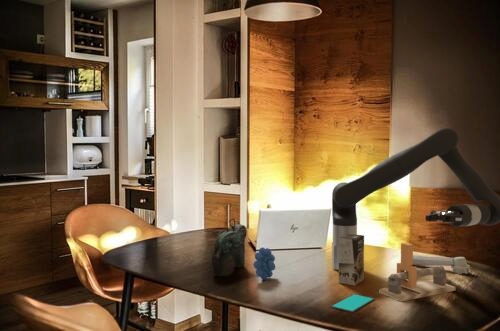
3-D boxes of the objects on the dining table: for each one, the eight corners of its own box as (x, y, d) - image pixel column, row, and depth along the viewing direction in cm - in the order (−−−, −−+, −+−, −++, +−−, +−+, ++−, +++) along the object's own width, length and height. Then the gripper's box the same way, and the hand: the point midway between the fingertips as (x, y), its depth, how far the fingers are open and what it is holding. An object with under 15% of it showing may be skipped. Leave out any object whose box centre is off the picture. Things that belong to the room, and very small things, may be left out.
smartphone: (330, 306, 150) (353, 294, 162) (330, 309, 150) (353, 296, 162) (352, 311, 145) (375, 298, 157) (352, 314, 145) (375, 301, 157)
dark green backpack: (237, 264, 202) (236, 215, 201) (250, 266, 199) (250, 216, 197) (208, 276, 185) (208, 222, 184) (223, 278, 181) (223, 223, 180)
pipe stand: (401, 301, 155) (401, 277, 155) (379, 292, 164) (379, 270, 164) (455, 290, 166) (455, 268, 166) (432, 282, 175) (432, 261, 175)
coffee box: (355, 286, 172) (356, 239, 171) (337, 283, 175) (338, 237, 174) (364, 279, 180) (364, 235, 179) (347, 277, 183) (347, 233, 182)
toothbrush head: (405, 253, 204) (469, 253, 188) (407, 269, 204) (472, 271, 188) (400, 255, 200) (465, 256, 184) (402, 272, 200) (468, 274, 184)
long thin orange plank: (411, 289, 159) (412, 246, 159) (396, 283, 166) (397, 242, 165) (416, 288, 160) (417, 245, 160) (401, 282, 166) (401, 241, 166)
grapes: (264, 285, 172) (264, 251, 172) (249, 282, 176) (249, 248, 176) (283, 278, 181) (283, 245, 181) (268, 275, 186) (268, 243, 185)
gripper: (448, 202, 179) (412, 204, 171) (480, 207, 168) (443, 209, 160) (447, 222, 180) (411, 225, 172) (479, 229, 168) (442, 232, 160)
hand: (427, 217), depth 166 cm, fingers closed
